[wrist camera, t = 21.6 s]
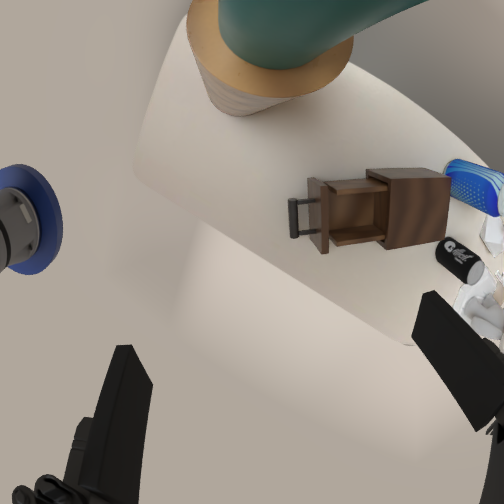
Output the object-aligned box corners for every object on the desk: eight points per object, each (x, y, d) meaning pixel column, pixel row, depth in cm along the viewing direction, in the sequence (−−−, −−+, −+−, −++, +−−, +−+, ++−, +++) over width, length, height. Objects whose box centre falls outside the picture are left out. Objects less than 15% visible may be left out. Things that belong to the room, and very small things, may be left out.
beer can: (435, 169, 46) (492, 191, 31) (458, 151, 44) (514, 167, 30) (446, 202, 49) (498, 230, 35) (467, 183, 48) (519, 206, 33)
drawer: (285, 241, 48) (295, 258, 42) (281, 180, 43) (291, 189, 38) (373, 229, 49) (390, 243, 43) (375, 173, 44) (394, 181, 39)
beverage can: (430, 260, 55) (462, 286, 44) (440, 233, 52) (475, 257, 42) (446, 263, 56) (477, 288, 45) (456, 238, 54) (489, 261, 43)
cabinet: (364, 231, 50) (386, 250, 42) (365, 169, 45) (391, 178, 37) (419, 224, 51) (444, 239, 43) (423, 167, 46) (451, 177, 38)
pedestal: (210, 120, 39) (194, 107, 14) (203, 60, 35) (181, -31, 10) (276, 113, 40) (362, 98, 14) (269, 54, 35) (339, -31, 10)
